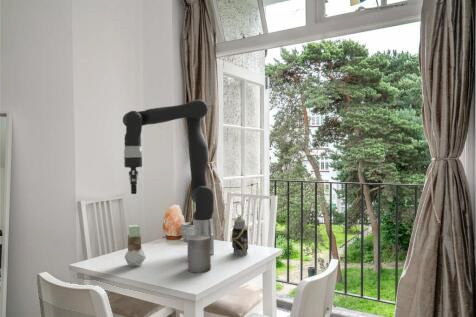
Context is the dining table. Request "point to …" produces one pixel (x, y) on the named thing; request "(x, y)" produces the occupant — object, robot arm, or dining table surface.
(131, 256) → the die
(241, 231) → the lantern
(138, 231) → the green block
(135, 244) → the walnut block
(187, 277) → the dining table surface
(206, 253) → the grey upright cylinder
